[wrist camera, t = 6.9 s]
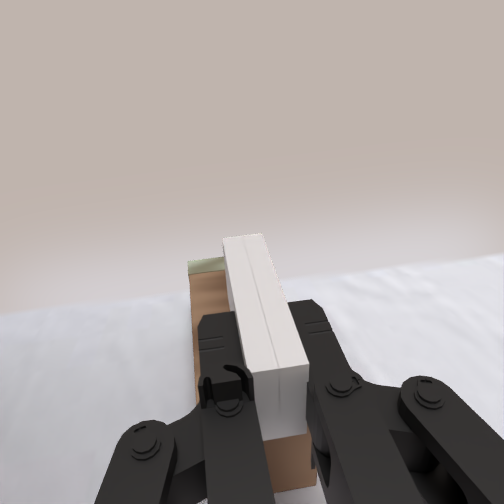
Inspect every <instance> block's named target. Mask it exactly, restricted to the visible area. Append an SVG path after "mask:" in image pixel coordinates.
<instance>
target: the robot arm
mask: <svg viewBox="0 0 504 504" xmlns="http://www.w3.org/2000/svg"><path fill="white" fill-rule="evenodd" d="M222 241H223V252H224V263H225V273H226V284H227V294H228V301H229V307H230V311H229V312H222V313H215V314H207V315H203V316H202V318H201V320H200V322H199V325H198V327H197V330H198V345H199V360H200V374H201V376H200V377H199V381H198V392H199V398H200V400H199V403H198V404H197V405H196V407H195V408H194V409H193V410H192V411H191V412H190V413H189V414H188V415H186V416H185V417H183V418H181V419H179V420H177V421H175V422H173V423H171V424H169V425H166V424H165V423H164V422H160V421H156V420H149V421H142V422H140V423H138V424H136V425H133V426H132V427H130V428H129V429H128V430H127V431H126V432H125V433H124V434H123V435H122V436H121V438H120V440H119V441H118V443H117V445H116V448H115V451H114V453H113V456H112V458H111V461H110V464H109V466H108V469H107V471H106V474H105V477H104V479H103V482H102V484H101V487H100V490H99V492H98V495H97V497H96V500H95V503H94V504H197V503H199V502H200V501H202V500H204V499H206V498H207V500H208V504H275V499H274V494H273V489H272V484H271V479H270V474H269V469H268V464H267V459H266V454H265V449H264V444H263V441H266V440H271V439H277V438H283V437H289V436H295V435H301V434H307V424H308V427H309V431H310V434H311V437H312V442H311V470H312V469H315V465H316V468H317V471H318V475H319V478H320V482H321V485H322V488H323V492H324V495H325V499H326V502H327V504H504V440H503V439H502V438H501V437H500V436H499V435H498V434H497V433H496V432H495V431H494V430H493V429H492V428H491V427H490V426H489V425H488V424H487V423H486V422H485V421H484V420H483V419H482V418H481V417H480V416H479V415H478V414H477V413H476V412H474V411H473V410H472V409H471V408H470V407H469V406H468V405H467V404H466V403H465V402H464V401H463V400H462V399H461V398H460V397H459V396H458V395H457V394H456V393H455V392H454V391H453V390H452V389H451V388H450V387H448V386H447V385H446V384H444V383H443V382H441V381H440V380H437V379H434V378H432V377H427V376H415V377H410V378H409V379H407V380H406V381H404V382H403V384H402V386H401V388H398V387H390V386H381V385H376V384H372V383H370V382H367V381H365V380H363V378H362V377H361V376H360V375H359V374H357V373H356V372H354V371H353V370H352V369H351V368H350V366H349V364H348V362H347V360H346V358H345V355H344V353H343V351H342V349H341V347H340V345H339V343H338V340H337V338H336V336H335V334H334V332H333V331H332V328H331V325H330V323H329V322H328V319H327V317H326V315H325V313H324V310H323V308H321V307H320V306H319V305H318V304H317V303H315V302H314V301H313V300H312V299H310V300H303V301H295V302H288V303H287V301H286V298H285V295H284V293H283V290H282V287H281V284H280V282H279V279H278V276H277V273H276V271H275V268H274V265H273V262H272V259H271V257H270V254H269V251H268V248H267V246H266V243H265V240H264V238H263V235H262V233H260V234H252V235H243V236H235V237H226V238H222Z"/></svg>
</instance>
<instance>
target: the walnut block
mask: <svg viewBox="0 0 504 504" xmlns="http://www.w3.org/2000/svg"><path fill="white" fill-rule="evenodd" d="M188 276H189V282H190V298H191V316H192V334H193V352H194V371H195V389H196V405H197V404H198V403H199V400H200V398H199V392H198V381H199V377H200V376H201V374H200V360H199V345H198V330H197V327H198V325H199V322H200V320H201V318H202V316H203V315H207V314H215V313H222V312H229V311H230V307H229V301H228V294H227V284H226V273H225V263H224V257H218V258H211V259H202V260H194V261H188ZM311 442H312V437H311V434H310V431H309V427H308V424H307V434H301V435H295V436H289V437H283V438H277V439H271V440H266V441H263V444H264V449H265V454H266V459H267V464H268V469H269V474H270V479H271V484H272V489H273V493H277V492H283V491H288V490H293V489H299V488H304V487H309V486H315V485H316V477H317V468H316V465H315V469H312V470H311Z"/></svg>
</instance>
